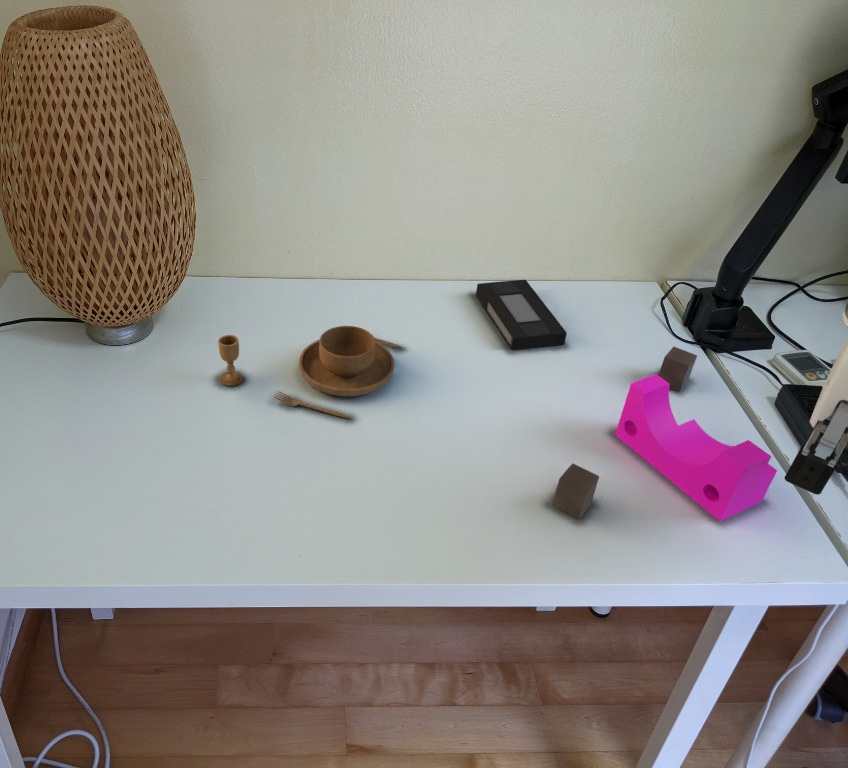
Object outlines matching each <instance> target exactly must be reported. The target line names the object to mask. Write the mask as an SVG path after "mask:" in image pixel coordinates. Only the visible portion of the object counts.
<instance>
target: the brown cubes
mask: <svg viewBox="0 0 848 768" xmlns="http://www.w3.org/2000/svg"><path fill="white" fill-rule="evenodd" d="M697 358H698V354H695V353H693V352H689V351H688V350H684V349H682V348H680V347H677V346H672V347H671V348H670V350H669V351H668V352H667V353H666V354H665V356H664V357H663V361H662V362H661V366H660V368H659V372H658V374H657V375H658V376H660V377H661V378H662V379H664V380H665V381H667V382H668V383H669V384H670V386H669V389H671V390H673V391H676V392H679V393H680V392H681V391H682V389H683V388H684V387H685V385H686V384H687V383H688V382H689V380H690V377H691V374H692V372H693V369H694V366H695V364H696V361H697ZM599 480H600V475H598V474H596V473H594V472H592V471H590V470H587V469H586V468H584V467H582V466H579V465H578V464H576V463H574V462H573V463H571V464H570V465H569V466H568V468H567V469H566V470H565V471H564V472H563V474H562V475H561V476H560V477H559V479H558V482H557V486H556V490H555V492H554V493H555V494H554V496H553V501H552V505H551V506H552V507H553V508H555V509H557V510H559V511H561V512H563V513H565V514H566V515H568V516H571V517H573V518H574V519H576V520H580V519H581V517H582V516H583V515H584V513H585V512H586V511H587V510H588V508H589V507H590V506H591V505H592V502H593V499H594V496H595V492H596V490H597V486H598V483H599Z"/></svg>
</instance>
